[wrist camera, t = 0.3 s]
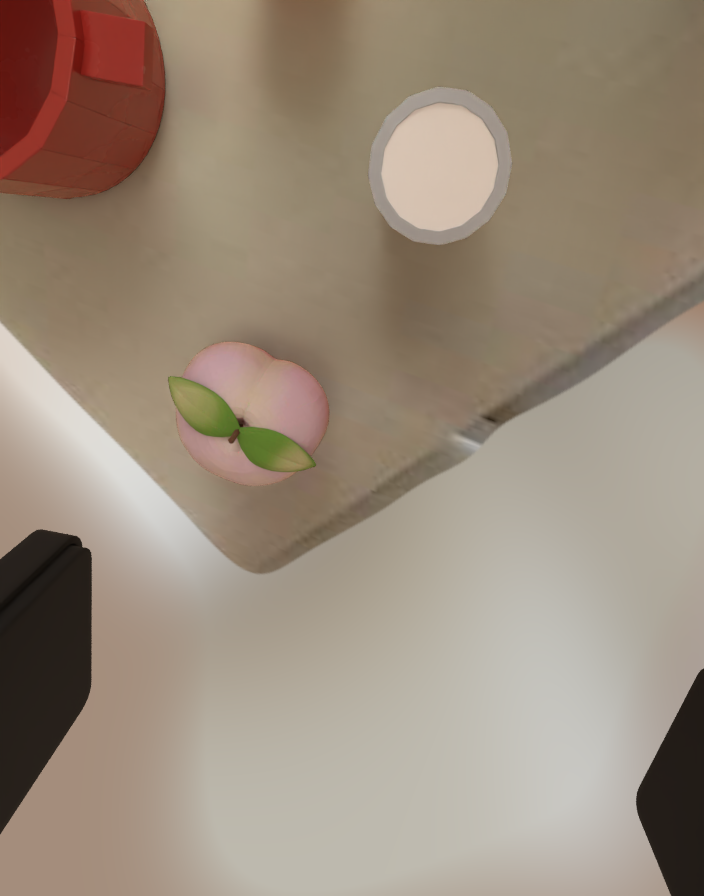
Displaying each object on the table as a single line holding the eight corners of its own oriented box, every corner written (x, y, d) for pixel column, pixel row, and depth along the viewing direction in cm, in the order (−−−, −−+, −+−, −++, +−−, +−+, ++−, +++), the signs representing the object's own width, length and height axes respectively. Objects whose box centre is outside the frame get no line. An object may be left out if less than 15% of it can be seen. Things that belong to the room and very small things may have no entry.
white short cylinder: (357, 219, 34) (348, 217, 28) (397, 96, 32) (397, 62, 25) (462, 258, 35) (477, 265, 28) (509, 138, 32) (537, 116, 26)
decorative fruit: (188, 419, 40) (125, 476, 31) (223, 311, 37) (165, 339, 28) (310, 470, 41) (284, 541, 32) (354, 368, 38) (340, 414, 29)
